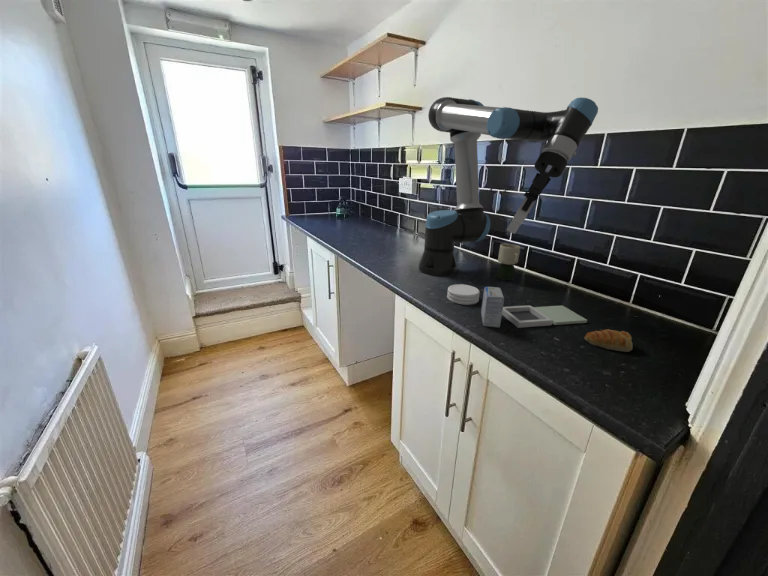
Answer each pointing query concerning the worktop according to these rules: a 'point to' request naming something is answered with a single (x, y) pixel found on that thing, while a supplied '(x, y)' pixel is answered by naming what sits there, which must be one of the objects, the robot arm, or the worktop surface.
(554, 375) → the worktop surface
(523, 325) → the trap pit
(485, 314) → the medicine box
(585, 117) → the robot arm
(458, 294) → the coaster
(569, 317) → the pad
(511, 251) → the character mug
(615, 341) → the pastry
